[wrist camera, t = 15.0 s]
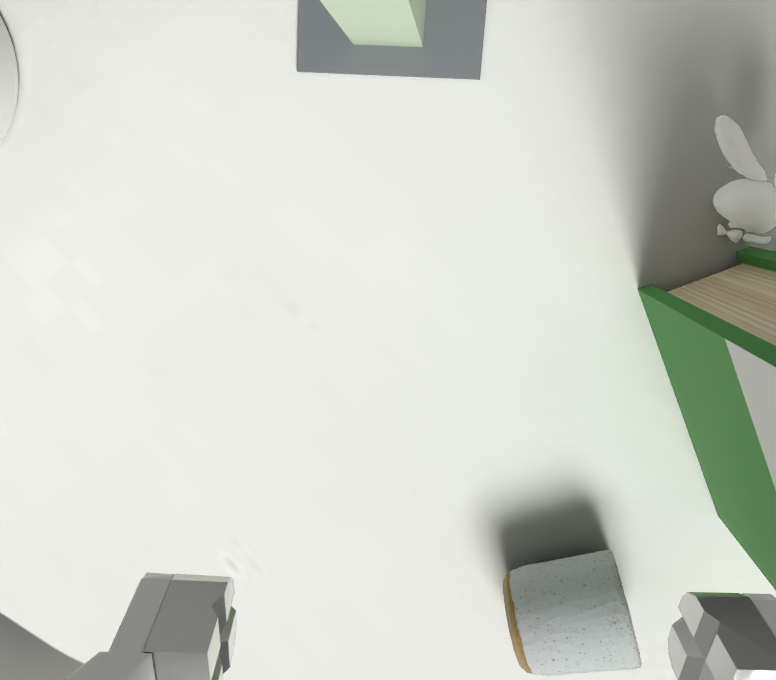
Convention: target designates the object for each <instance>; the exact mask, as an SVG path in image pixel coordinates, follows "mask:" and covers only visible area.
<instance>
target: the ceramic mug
mask: <svg viewBox="0 0 776 680" xmlns="http://www.w3.org/2000/svg"><path fill="white" fill-rule="evenodd" d="M503 594H504V603H505V610H506V616H507V621H508V627H509V632H510V636H511V640H512V644H513V648H514V652H515V655H516V657H517V660H518V662H519V665H520V666H521V668H522V669H524V670H525V671H526V672H527V673H531V674H535V675H547V676H551V675H564V674H572V673H587V672H600V671H615V670H628V669H637V668H640V667H641V658H640V653H639V649H638V645H637V641H636V636H635V633H634V629H633V625H632V620H631V616H630V611H629V608H628V604H627V601H626V598H625V595H624V591H623V586H622V583H621V580H620V576H619V573H618V569H617V566H616V563H615V559H614V556H613V553H612V552H611V551H610V550H602V551H598V552H593V553H588V554H583V555H578V556H572V557H567V558H561V559H557V560H552V561H547V562H541V563H534V564H529V565H524V566H522V567H519V568H516V569H514V570H512V571H510V572H508V573H507V575H506V577H505V578H504V581H503Z"/></svg>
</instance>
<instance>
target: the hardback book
mask: <svg viewBox="0 0 776 680" xmlns="http://www.w3.org/2000/svg"><path fill="white" fill-rule="evenodd" d="M736 253H737V257H738V260H739V263H740V265H737V266H735V267H732V268H729V269H727V270H724V271H721V272H719V273H716V274H713V275H710V276H708V277H705V278H702V279H700V280H697V281H694V282H692V283H689V284H686V285H684V286H681V287H678V288H676V289H673V290H670V291H667V292H666V291H664V290H662V289H660V288H658V287H656V286H654V285H652V284H651V285H648V286H646V287H643V288H640V289H638V291H639V294H640V297H641V300H642V303H643V305H644V308H645V311H646V314H647V317H648V319H649V322H650V325H651V328H652V331H653V334H654V336H655V339H656V342H657V345H658V348H659V350H660V353H661V356H662V359H663V362H664V365H665V367H666V370H667V373H668V376H669V379H670V382H671V384H672V387H673V390H674V393H675V396H676V398H677V401H678V404H679V407H680V410H681V413H682V415H683V418H684V421H685V424H686V427H687V429H688V432H689V435H690V438H691V441H692V444H693V446H694V449H695V452H696V455H697V458H698V460H699V463H700V466H701V469H702V472H703V475H704V477H705V480H706V483H707V486H708V489H709V492H710V494H711V497H712V500H713V503H714V506H715V508H716V511H717V514H718V516H719V518H720V519H721V520H722V522H723V523H724V524H725V525H726V527H727V528H728V529H729V531H730V532H731V533H732V534H733V536H734V537H735V538H736V540H737V541H738V542H739V543H740V545H741V546H742V547H743V549H744V550H745V551H746V552H747V554H748V555H749V556H750V558H751V559H752V560H753V561H754V563H755V564H756V565H757V567H758V568H759V569H760V570H761V572H762V573H763V574H764V576H765V577H766V578H767V580H768V581H769V582H770V583H771V585H772V586H773V587H774V589H775V590H776V252H774V251H769V250H764V249H758V248H753V247H749V248H747V249H744V250H742V251H739V252H736Z"/></svg>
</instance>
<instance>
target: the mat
mask: <svg viewBox="0 0 776 680" xmlns="http://www.w3.org/2000/svg"><path fill="white" fill-rule="evenodd" d="M486 3H487V0H426V8H425V23H424V38H423V47H409V46H382V45H355V44H353V43H352V42H351V40H350V39H349V38H348V37H347V35H346V34H345V33H344V31H343V30H342V29H341V27H340V26H339V25H338V24H337V22H336V21H335V20H334V18H333V17H332V16H331V14H330V13H329V12H328V11H327V9H326V8H325V7H324V5H323V4H322V3H321V1H320V0H299V11H298V50H297V71H298V72H316V73H339V74H362V75H385V76H409V77H432V78H455V79H478V80H480V72H481V61H482V49H483V38H484V26H485V15H486Z"/></svg>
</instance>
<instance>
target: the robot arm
mask: <svg viewBox="0 0 776 680" xmlns="http://www.w3.org/2000/svg"><path fill="white" fill-rule="evenodd" d="M17 97H18V69H17V62H16V56H15V52H14V48H13V44H12V41H11V38H10V36H9V33H8V31H7V28H6V26H5V24H4V22H3V20H2V18H1V16H0V143H1V142H2V140H3V139H4V137H5V135H6V133H7V131H8V129H9V127H10V125H11V122H12V120H13V116H14V113H15V109H16V104H17ZM234 593H235V592H234V582H233V578H231V577H221V576H204V575H187V574H162V573H146V575H145V576H144V577H143V578H142V579H141V580H140V583H139V585H138V587H137V589H136V592H135V594H134V596H133V598H132V601H131V603H130V605H129V607H128V609H127V612H126V614H125V616H124V618H123V621H122V623H121V625H120V627H119V630H118V632H117V634H116V636H115V639H114V641H113V643H112V645H111V648H110V650H109V652H99V653H98V654H96V655H95V656H94V657H93V658H91V659H90V660H89V661H88V662H86V663H85V664H84V665H83V666H81V667H80V668H79V669H78V670H76V671H75V672H74V673H73V674H71V675H70V676H69V677H68V678H66V679H65V680H223V673H224V672H226V671H227V670H228V669H229V668H230V665H231V660H232V656H233V651H234V644H235V637H236V610H235V609H234V608H233V607H232V606H231V604H232V600H233V597H234ZM678 608H679V610H680V612H681V614H682V616H683V617H682V618H680V619H679V620H678V621H677V622H675V623H674V624H673V625H672V627H671V630H670V634H669V637H668V650H669V658H670V661H671V665H672V668H673V671H674V673H675V675H676V677H677V680H776V598H775V597H774V596H772V595H771V594H739V593H707V592H687V593H686V594H685V595H684V596H682V598H681V601H680V604H679V606H678Z"/></svg>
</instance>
